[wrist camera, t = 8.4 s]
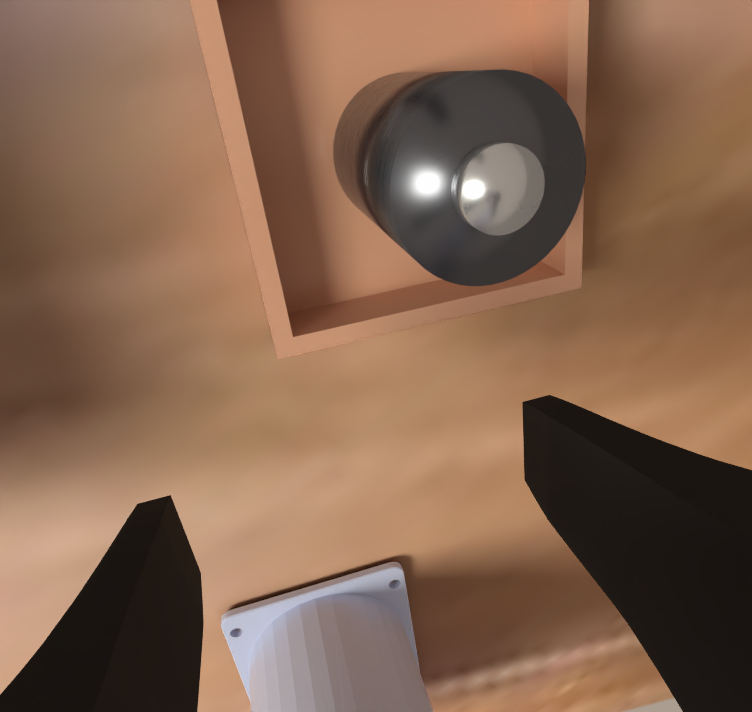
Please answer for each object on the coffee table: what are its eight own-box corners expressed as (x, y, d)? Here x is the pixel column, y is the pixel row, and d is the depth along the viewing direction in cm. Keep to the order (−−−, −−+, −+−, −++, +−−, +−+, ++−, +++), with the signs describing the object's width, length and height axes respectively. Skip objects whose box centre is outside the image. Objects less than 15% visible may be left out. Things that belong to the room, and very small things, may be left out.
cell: (478, 202, 19) (605, 261, 13) (352, 240, 19) (421, 320, 12) (458, 56, 17) (597, 42, 11) (315, 94, 16) (376, 103, 10)
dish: (543, 266, 21) (581, 288, 19) (270, 328, 20) (277, 359, 17) (541, -69, 17) (591, -92, 14) (184, -23, 15) (179, -42, 13)
